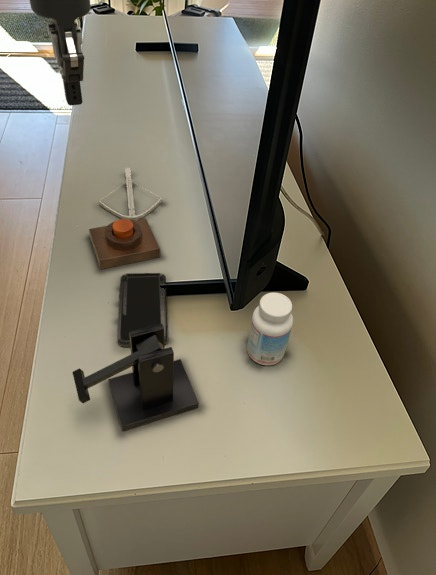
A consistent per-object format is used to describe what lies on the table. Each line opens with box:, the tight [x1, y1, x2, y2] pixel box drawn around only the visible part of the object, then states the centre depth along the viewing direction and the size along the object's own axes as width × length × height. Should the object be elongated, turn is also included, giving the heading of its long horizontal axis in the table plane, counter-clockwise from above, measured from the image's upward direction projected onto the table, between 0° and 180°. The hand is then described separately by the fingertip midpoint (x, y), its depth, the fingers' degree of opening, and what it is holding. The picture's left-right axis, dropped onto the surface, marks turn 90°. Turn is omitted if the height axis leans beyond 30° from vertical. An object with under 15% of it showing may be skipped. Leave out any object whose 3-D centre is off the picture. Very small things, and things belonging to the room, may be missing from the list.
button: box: [113, 218, 134, 239], centre depth 89 cm, size 4×4×2 cm
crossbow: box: [98, 167, 163, 221], centre depth 103 cm, size 16×13×2 cm
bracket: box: [107, 323, 199, 432], centre depth 67 cm, size 11×8×13 cm
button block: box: [88, 218, 161, 270], centre depth 91 cm, size 11×9×4 cm
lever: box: [72, 335, 165, 404], centre depth 63 cm, size 12×4×2 cm, turn 112°
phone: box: [116, 272, 169, 348], centre depth 82 cm, size 8×1×15 cm
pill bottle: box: [246, 292, 294, 366], centre depth 74 cm, size 6×6×11 cm
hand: (74, 102), depth 74 cm, fingers closed
